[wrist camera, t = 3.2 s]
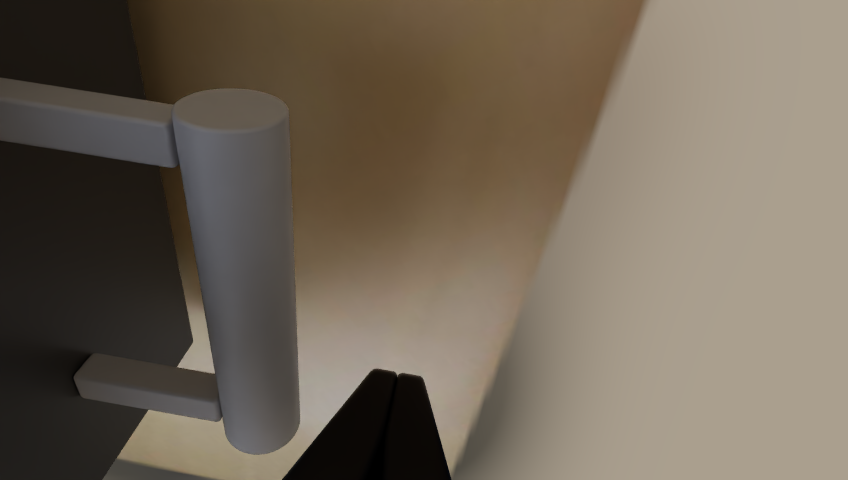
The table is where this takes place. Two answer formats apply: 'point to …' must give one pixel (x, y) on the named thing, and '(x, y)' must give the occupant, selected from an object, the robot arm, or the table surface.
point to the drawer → (133, 249)
